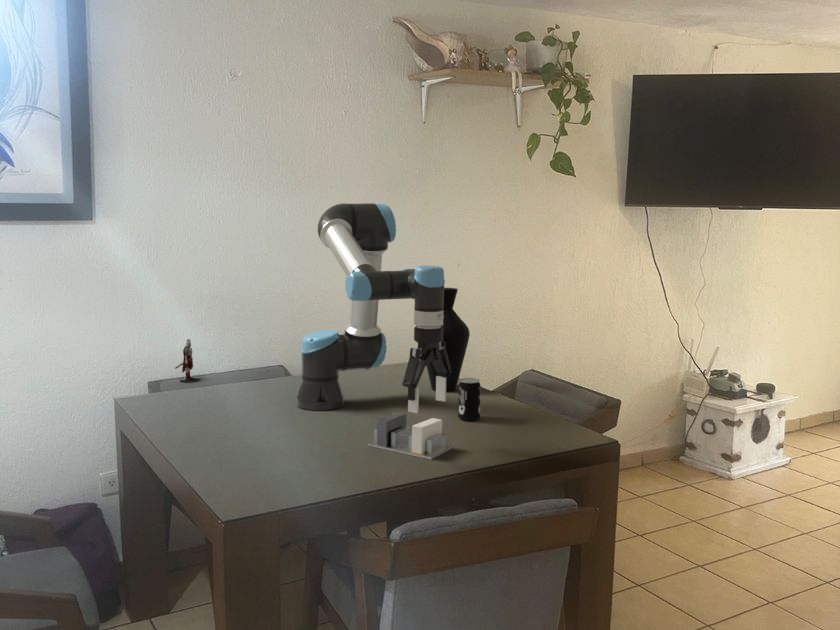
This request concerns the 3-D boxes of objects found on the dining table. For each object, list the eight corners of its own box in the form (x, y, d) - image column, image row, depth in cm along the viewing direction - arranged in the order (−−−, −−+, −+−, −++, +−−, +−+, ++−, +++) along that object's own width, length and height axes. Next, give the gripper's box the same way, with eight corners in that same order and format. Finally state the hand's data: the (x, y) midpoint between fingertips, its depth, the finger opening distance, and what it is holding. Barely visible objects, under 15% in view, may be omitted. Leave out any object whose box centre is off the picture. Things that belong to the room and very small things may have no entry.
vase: (433, 397, 265) (435, 293, 259) (410, 386, 280) (411, 287, 274) (477, 392, 273) (480, 290, 267) (452, 381, 288) (454, 285, 282)
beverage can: (478, 422, 237) (479, 383, 235) (456, 421, 238) (457, 382, 236) (481, 416, 243) (482, 378, 241) (459, 415, 244) (460, 377, 242)
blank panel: (411, 451, 206) (412, 425, 206) (431, 443, 215) (432, 417, 214) (421, 453, 205) (421, 427, 204) (441, 445, 213) (442, 419, 212)
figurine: (196, 382, 281) (194, 341, 278) (175, 382, 281) (173, 340, 278) (201, 378, 287) (200, 337, 285) (181, 378, 287) (179, 337, 285)
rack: (367, 445, 214) (367, 418, 213) (389, 436, 222) (389, 409, 221) (431, 459, 203) (431, 430, 202) (450, 449, 212) (451, 421, 211)
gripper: (414, 335, 192) (413, 419, 196) (465, 321, 213) (463, 398, 217) (389, 331, 196) (388, 414, 200) (441, 318, 217) (439, 393, 221)
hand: (427, 406), depth 208 cm, fingers open, 13 cm apart
